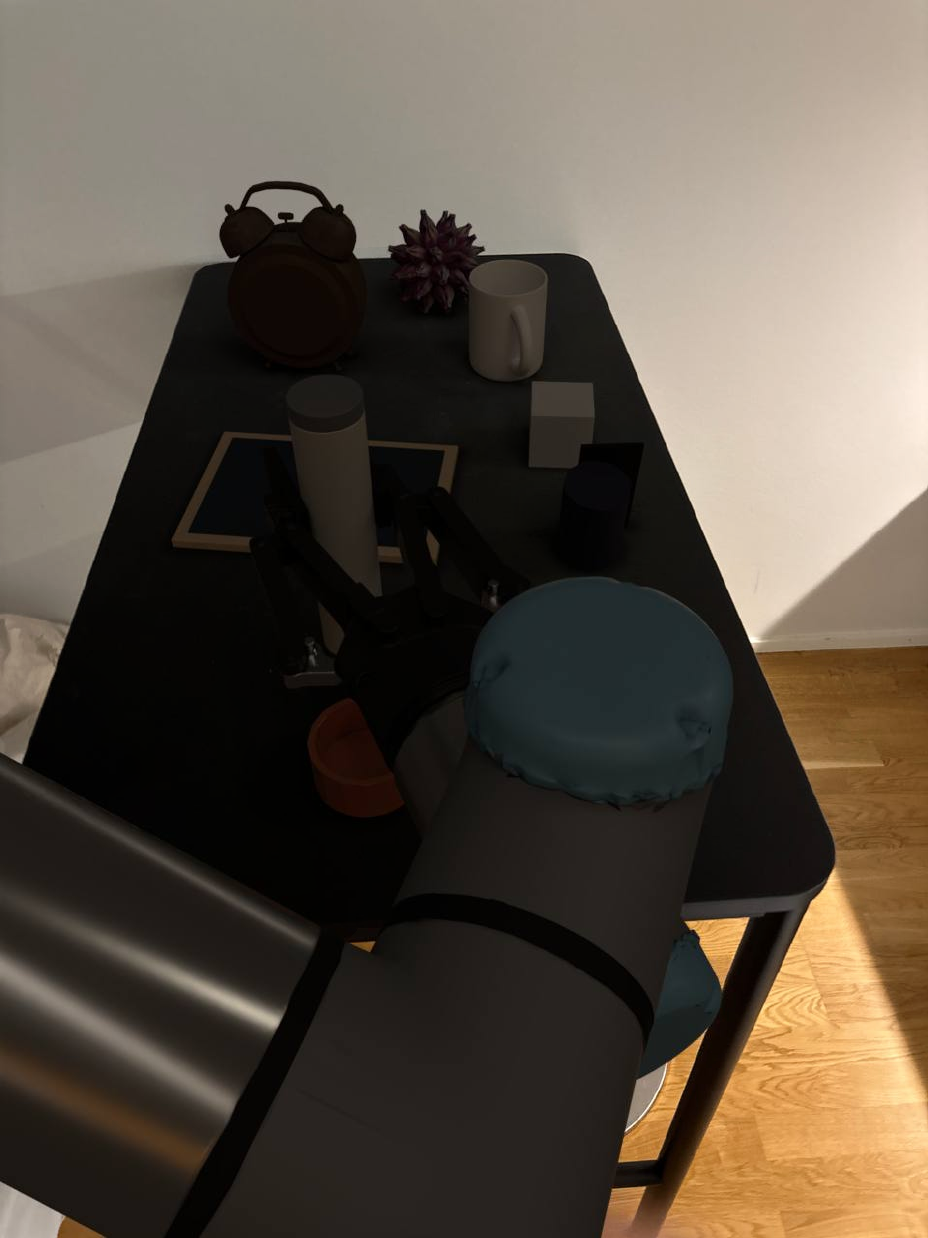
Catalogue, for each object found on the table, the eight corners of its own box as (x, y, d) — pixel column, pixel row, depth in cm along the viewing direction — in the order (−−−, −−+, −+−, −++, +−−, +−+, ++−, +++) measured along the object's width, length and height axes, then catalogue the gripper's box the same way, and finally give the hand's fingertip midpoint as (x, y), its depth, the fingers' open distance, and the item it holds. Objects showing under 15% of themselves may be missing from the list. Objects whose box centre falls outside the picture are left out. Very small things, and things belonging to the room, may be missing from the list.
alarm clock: (376, 347, 113) (362, 169, 99) (365, 381, 108) (349, 198, 94) (252, 342, 114) (221, 164, 100) (236, 375, 109) (200, 193, 95)
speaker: (567, 510, 92) (579, 424, 83) (628, 525, 90) (646, 439, 82) (546, 568, 87) (556, 484, 79) (610, 584, 86) (627, 500, 78)
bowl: (303, 812, 69) (296, 779, 66) (326, 725, 74) (321, 691, 71) (413, 823, 68) (411, 789, 65) (429, 734, 74) (427, 699, 71)
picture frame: (173, 547, 89) (170, 539, 88) (225, 438, 100) (224, 430, 100) (436, 566, 87) (436, 557, 86) (458, 452, 99) (458, 444, 98)
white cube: (528, 467, 97) (530, 415, 93) (529, 432, 101) (531, 381, 97) (589, 468, 96) (595, 416, 92) (588, 433, 101) (593, 382, 96)
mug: (562, 396, 106) (568, 307, 98) (487, 407, 104) (488, 317, 97) (531, 341, 114) (535, 255, 106) (461, 349, 112) (461, 263, 105)
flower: (396, 299, 124) (487, 274, 124) (404, 343, 116) (502, 316, 115) (370, 209, 116) (467, 182, 116) (377, 250, 108) (482, 220, 107)
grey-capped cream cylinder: (317, 656, 62) (276, 414, 49) (330, 611, 65) (295, 371, 52) (380, 660, 62) (355, 418, 49) (390, 616, 65) (369, 375, 52)
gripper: (295, 850, 45) (182, 542, 60) (621, 728, 49) (441, 471, 64) (270, 749, 39) (154, 439, 54) (639, 624, 44) (438, 370, 59)
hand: (310, 457), depth 59 cm, fingers closed on grey-capped cream cylinder, 4 cm apart
